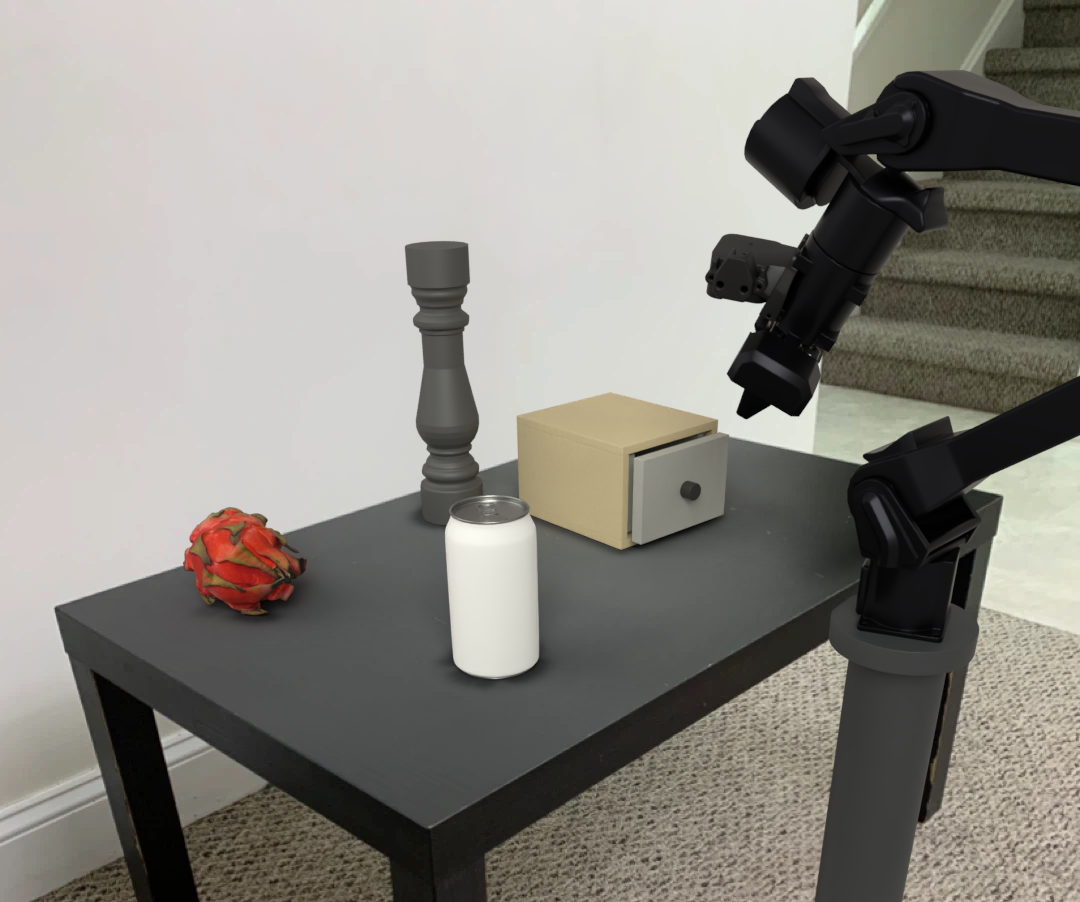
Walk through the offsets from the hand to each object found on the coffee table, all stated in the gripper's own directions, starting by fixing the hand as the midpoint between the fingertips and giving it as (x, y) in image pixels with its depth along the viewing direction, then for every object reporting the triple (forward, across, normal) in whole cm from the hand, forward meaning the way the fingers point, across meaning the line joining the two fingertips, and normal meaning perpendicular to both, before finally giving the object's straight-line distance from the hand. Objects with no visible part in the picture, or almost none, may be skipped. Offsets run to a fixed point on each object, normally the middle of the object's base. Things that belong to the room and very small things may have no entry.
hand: (742, 414), depth 91 cm
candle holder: (+26, 0, -19) cm, 32 cm away
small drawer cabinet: (+20, -5, -5) cm, 21 cm away
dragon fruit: (+24, +24, -28) cm, 44 cm away
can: (+12, +27, -7) cm, 31 cm away
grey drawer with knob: (+17, -4, -3) cm, 18 cm away
